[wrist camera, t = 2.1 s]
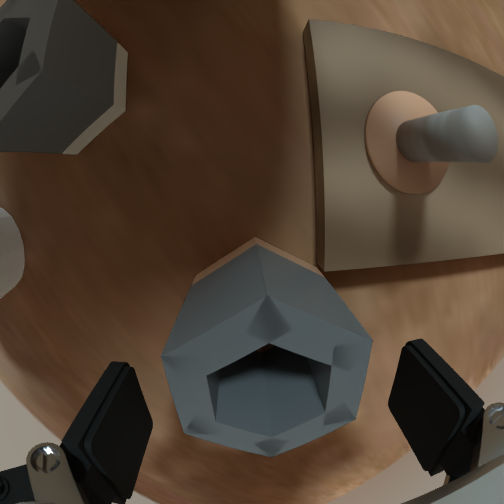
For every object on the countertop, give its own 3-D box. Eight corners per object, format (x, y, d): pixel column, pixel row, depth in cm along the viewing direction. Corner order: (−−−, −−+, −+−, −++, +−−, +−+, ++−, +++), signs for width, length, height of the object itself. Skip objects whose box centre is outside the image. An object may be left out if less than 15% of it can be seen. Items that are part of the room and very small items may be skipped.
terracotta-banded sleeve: (192, 240, 14) (147, 300, 7) (316, 233, 14) (380, 284, 7) (208, 360, 15) (193, 458, 9) (313, 352, 16) (348, 445, 9)
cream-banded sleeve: (44, 59, 10) (-30, 27, 4) (130, 27, 11) (73, -40, 4) (37, 165, 12) (-54, 172, 5) (126, 144, 12) (38, 125, 6)
